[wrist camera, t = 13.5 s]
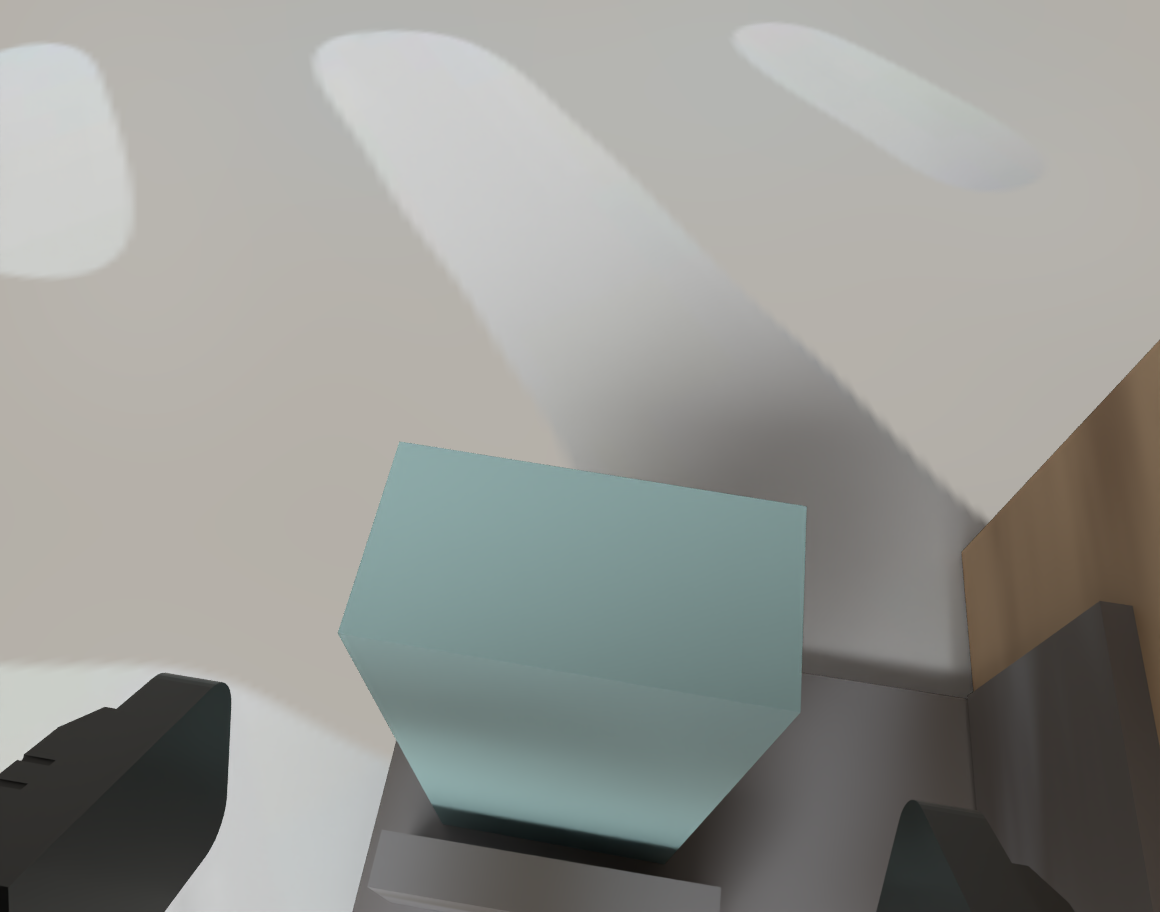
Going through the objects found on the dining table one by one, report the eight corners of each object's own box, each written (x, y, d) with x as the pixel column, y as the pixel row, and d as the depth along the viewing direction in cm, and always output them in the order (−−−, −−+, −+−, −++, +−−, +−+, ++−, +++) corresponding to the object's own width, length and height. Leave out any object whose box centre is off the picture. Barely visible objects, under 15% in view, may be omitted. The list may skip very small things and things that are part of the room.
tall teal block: (680, 712, 21) (808, 444, 11) (664, 864, 20) (799, 712, 9) (476, 676, 22) (418, 382, 11) (442, 824, 20) (338, 632, 10)
